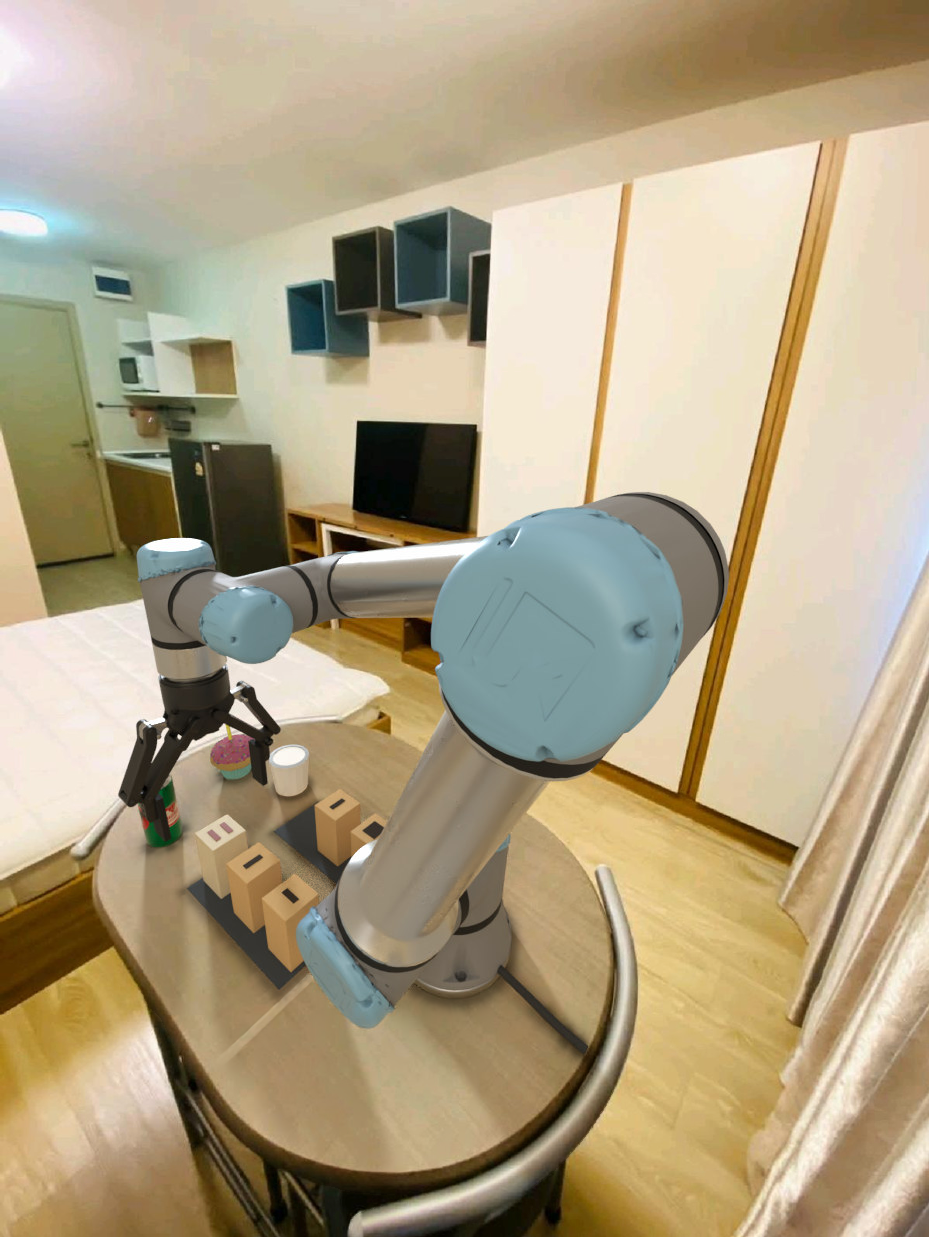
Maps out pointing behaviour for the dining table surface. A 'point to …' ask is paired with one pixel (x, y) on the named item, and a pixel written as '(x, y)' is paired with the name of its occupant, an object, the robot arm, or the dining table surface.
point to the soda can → (172, 816)
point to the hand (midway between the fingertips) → (215, 806)
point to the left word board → (242, 933)
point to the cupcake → (232, 755)
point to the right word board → (308, 842)
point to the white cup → (290, 769)
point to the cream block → (220, 851)
